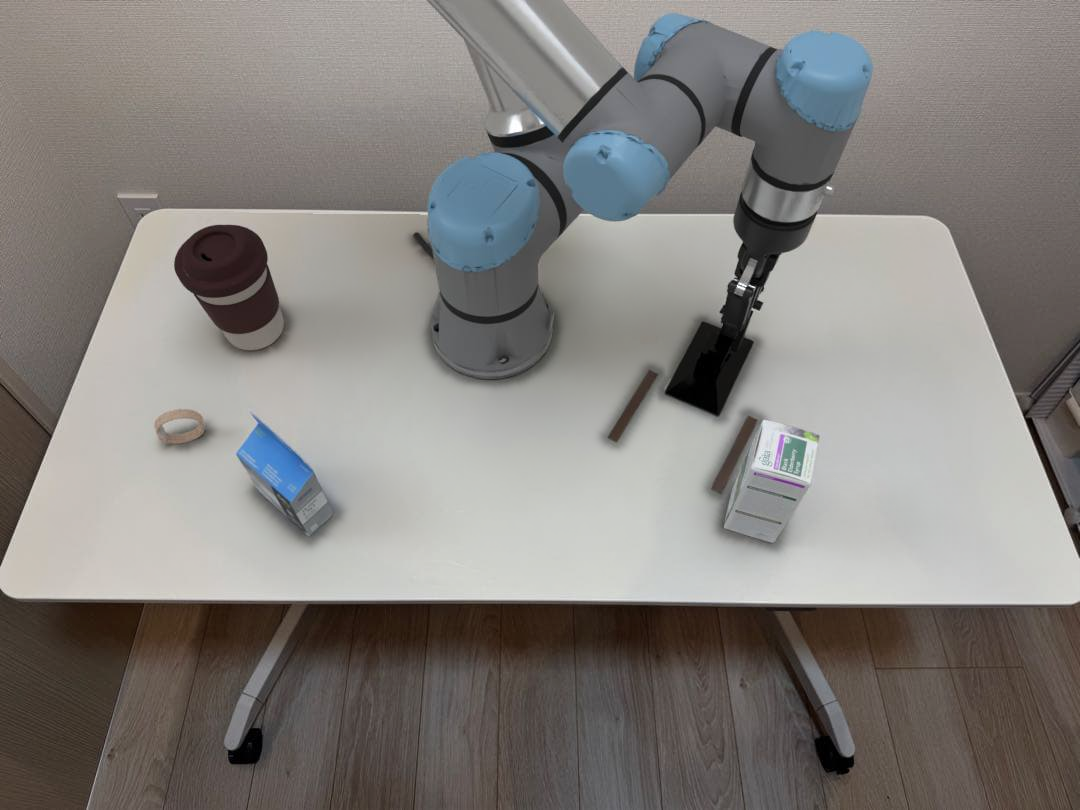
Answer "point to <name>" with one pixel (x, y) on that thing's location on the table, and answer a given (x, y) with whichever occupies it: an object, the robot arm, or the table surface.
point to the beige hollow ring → (169, 415)
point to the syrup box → (771, 480)
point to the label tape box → (284, 478)
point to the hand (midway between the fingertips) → (728, 344)
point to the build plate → (708, 370)
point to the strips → (731, 457)
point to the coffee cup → (232, 283)
